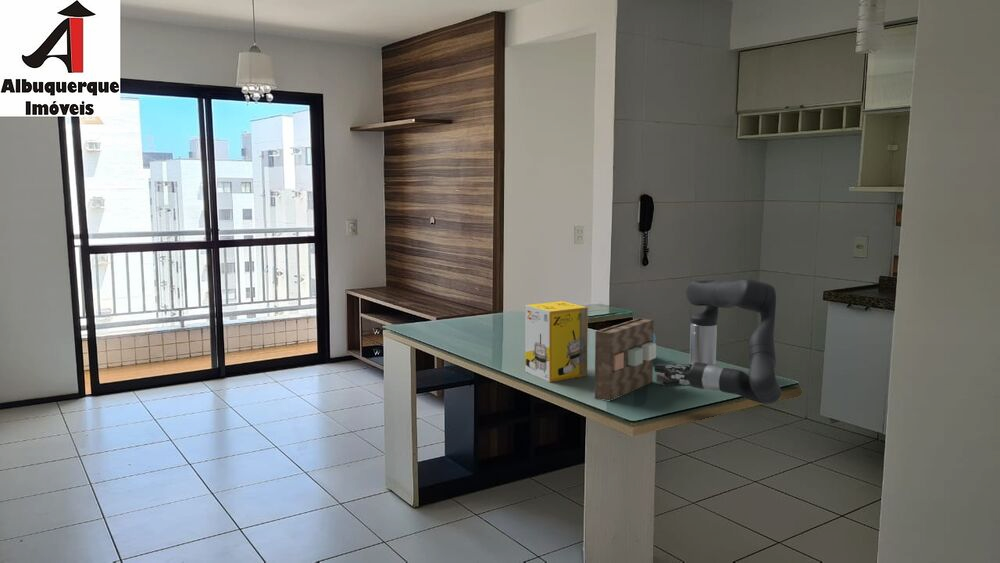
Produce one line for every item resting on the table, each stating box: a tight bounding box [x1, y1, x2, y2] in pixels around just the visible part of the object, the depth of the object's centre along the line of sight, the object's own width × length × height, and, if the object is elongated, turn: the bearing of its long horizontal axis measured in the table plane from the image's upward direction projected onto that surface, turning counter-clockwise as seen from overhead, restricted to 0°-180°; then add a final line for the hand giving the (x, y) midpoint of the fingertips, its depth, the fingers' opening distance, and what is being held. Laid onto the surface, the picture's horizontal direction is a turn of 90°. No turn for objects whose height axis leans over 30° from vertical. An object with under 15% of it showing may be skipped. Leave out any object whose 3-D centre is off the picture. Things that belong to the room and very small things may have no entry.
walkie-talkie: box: [655, 373, 690, 387], centre depth 247 cm, size 9×4×20 cm
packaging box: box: [524, 300, 589, 383], centre depth 257 cm, size 16×16×25 cm
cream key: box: [642, 342, 657, 361], centre depth 241 cm, size 5×4×5 cm
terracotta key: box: [613, 352, 624, 371], centre depth 229 cm, size 5×4×5 cm
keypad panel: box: [594, 317, 655, 401], centre depth 236 cm, size 28×6×22 cm, turn 140°
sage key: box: [628, 347, 643, 366], centre depth 234 cm, size 5×4×5 cm
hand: (655, 367), depth 219 cm, fingers closed
